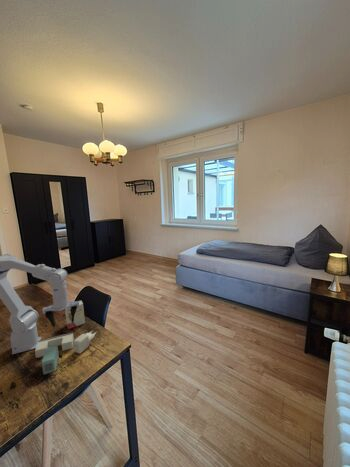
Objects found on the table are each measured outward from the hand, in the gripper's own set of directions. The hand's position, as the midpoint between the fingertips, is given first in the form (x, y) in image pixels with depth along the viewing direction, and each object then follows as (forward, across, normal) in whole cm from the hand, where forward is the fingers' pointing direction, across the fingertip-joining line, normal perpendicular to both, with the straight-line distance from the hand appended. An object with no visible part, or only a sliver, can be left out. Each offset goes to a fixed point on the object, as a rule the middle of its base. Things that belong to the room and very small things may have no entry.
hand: (63, 323), depth 91 cm
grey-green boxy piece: (+10, -4, -12) cm, 16 cm away
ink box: (+11, +3, +15) cm, 19 cm away
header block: (+10, -4, -1) cm, 11 cm away
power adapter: (+11, +9, -5) cm, 15 cm away
